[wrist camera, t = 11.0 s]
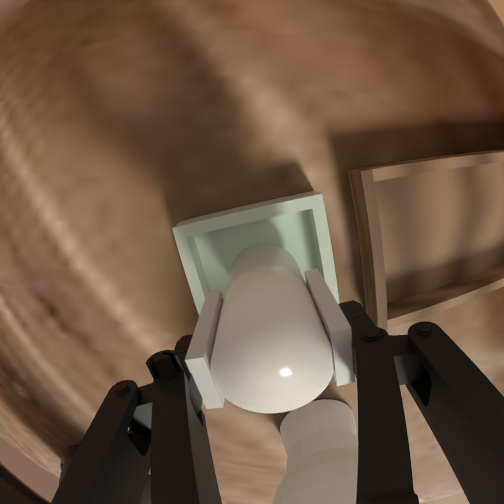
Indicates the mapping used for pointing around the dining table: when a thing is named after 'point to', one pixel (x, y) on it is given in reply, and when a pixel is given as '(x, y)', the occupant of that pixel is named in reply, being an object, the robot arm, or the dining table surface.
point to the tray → (429, 233)
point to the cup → (319, 455)
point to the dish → (255, 240)
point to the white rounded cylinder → (270, 335)
